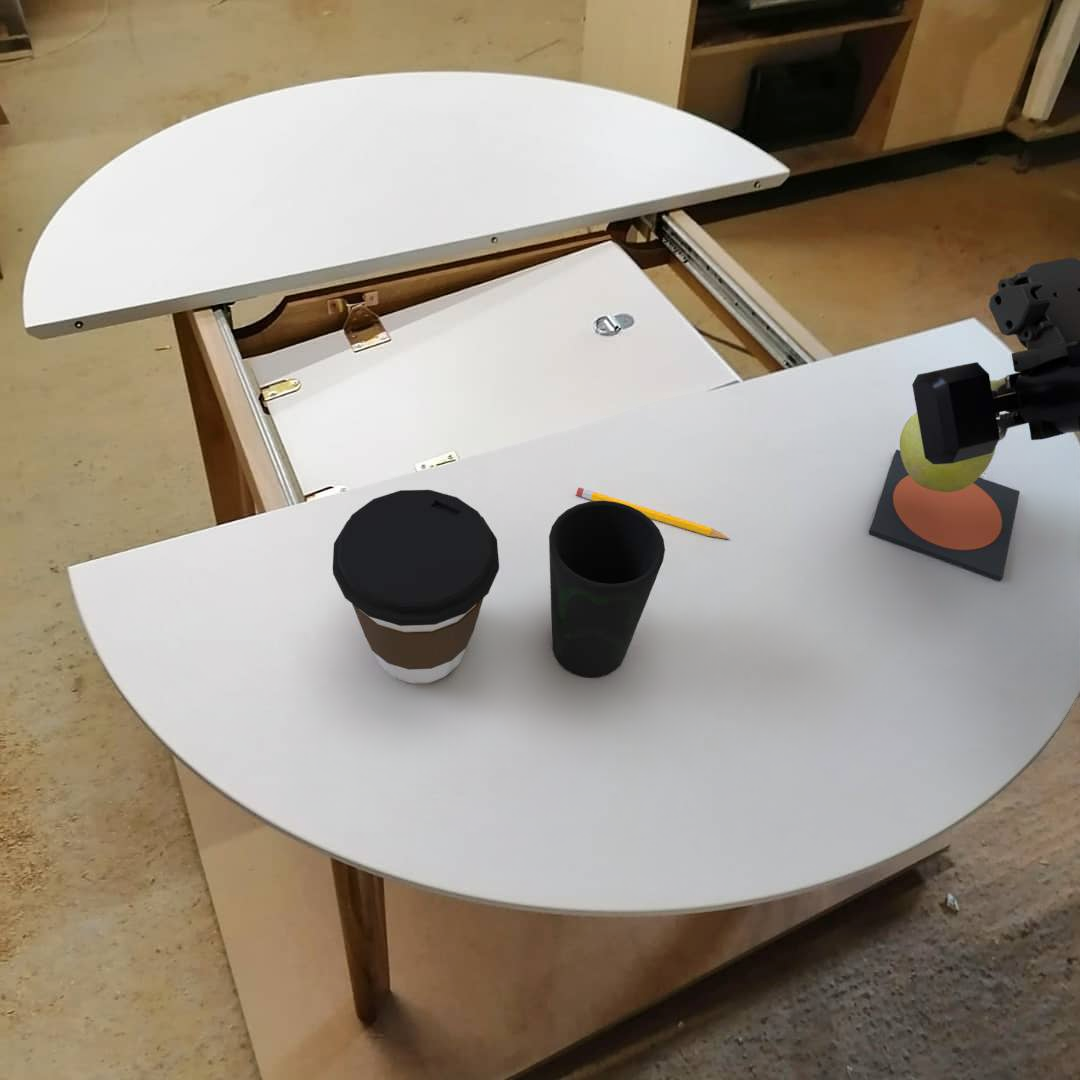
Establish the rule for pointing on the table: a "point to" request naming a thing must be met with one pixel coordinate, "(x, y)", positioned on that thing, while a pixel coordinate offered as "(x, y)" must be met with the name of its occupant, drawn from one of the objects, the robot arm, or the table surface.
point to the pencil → (655, 514)
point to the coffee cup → (416, 579)
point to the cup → (600, 583)
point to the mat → (948, 520)
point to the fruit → (939, 474)
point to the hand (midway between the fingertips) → (956, 404)
